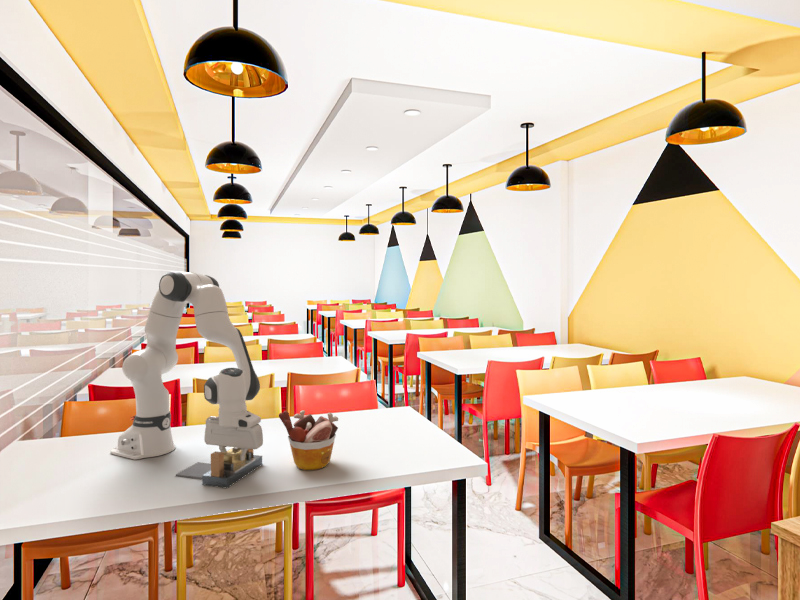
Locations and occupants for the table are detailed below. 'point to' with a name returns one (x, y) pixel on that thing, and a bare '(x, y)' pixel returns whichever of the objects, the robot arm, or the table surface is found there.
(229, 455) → the tan rectangular block
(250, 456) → the hand plane
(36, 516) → the table surface
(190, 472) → the mat
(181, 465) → the table surface
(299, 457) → the fried chicken
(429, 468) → the table surface
